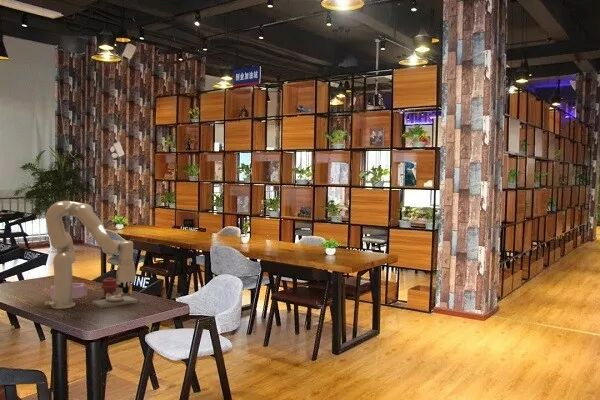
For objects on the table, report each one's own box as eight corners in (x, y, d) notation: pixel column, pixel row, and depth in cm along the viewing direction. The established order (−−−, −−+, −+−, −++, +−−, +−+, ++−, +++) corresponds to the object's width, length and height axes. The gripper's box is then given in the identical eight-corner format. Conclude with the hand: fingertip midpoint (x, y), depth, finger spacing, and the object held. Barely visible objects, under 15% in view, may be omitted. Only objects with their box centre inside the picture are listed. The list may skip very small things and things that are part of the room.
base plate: (101, 307, 303) (101, 305, 303) (92, 303, 312) (92, 301, 312) (137, 302, 318) (137, 299, 318) (127, 298, 327) (127, 295, 327)
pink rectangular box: (52, 300, 318) (52, 289, 318) (49, 296, 328) (49, 285, 328) (88, 296, 330) (88, 285, 329) (83, 293, 340) (83, 282, 340)
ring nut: (132, 300, 314) (132, 285, 313) (107, 302, 308) (107, 287, 307) (129, 297, 323) (129, 282, 323) (105, 298, 317) (105, 283, 317)
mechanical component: (121, 296, 331) (112, 300, 321) (107, 295, 333) (97, 299, 323) (121, 277, 330) (112, 280, 321) (107, 276, 332) (97, 279, 323)
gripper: (116, 263, 302) (115, 296, 303) (141, 261, 312) (140, 292, 313) (110, 262, 307) (110, 293, 308) (135, 260, 318) (134, 290, 318)
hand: (125, 293), depth 310 cm, fingers closed
